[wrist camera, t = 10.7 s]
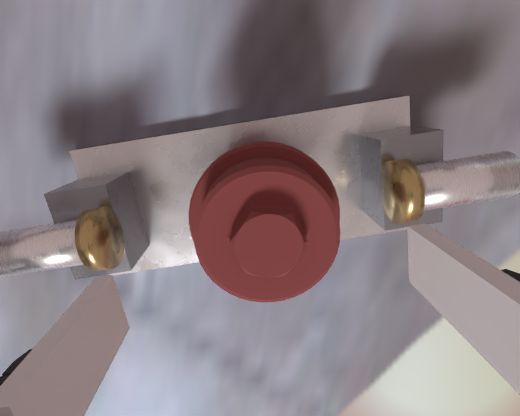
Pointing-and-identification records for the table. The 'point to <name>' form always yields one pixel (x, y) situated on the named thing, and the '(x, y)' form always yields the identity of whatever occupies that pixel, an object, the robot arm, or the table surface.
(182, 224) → the shaft bed
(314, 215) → the mechanical component
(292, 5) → the table surface
